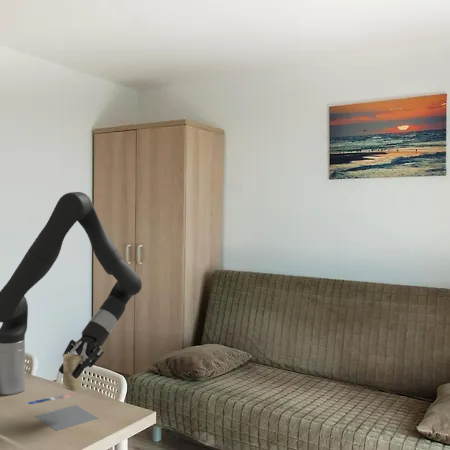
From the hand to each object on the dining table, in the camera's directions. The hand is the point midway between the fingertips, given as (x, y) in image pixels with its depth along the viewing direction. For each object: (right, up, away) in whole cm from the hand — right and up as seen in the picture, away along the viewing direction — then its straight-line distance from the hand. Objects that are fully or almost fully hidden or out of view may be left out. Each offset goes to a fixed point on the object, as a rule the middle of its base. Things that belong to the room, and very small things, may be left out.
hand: (67, 374), depth 154 cm
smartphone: (-9, -13, +14) cm, 21 cm away
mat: (0, -13, 0) cm, 13 cm away
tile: (+1, -5, +2) cm, 5 cm away
